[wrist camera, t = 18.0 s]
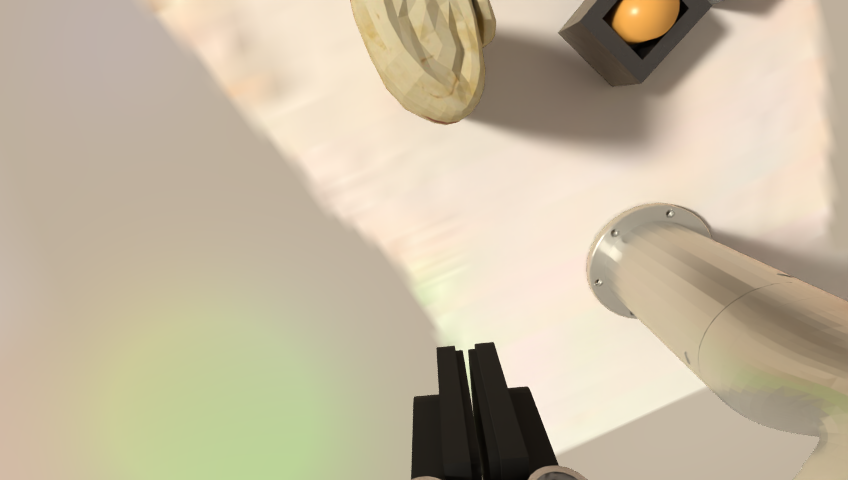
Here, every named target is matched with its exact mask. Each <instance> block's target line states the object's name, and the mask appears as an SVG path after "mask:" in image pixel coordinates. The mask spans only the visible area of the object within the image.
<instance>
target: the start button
mask: <svg viewBox="0 0 848 480" xmlns="http://www.w3.org/2000/svg"><path fill="white" fill-rule="evenodd" d="M679 6H680V2H679V0H617V1H616V3H615V4H614V5H613V6H612V7H611V9H610V10H609V11H608V12H607V13H606V15H605V16H604V17H603V18H602V19H603V20H604V21H605V22H606V23H607V24H608V25H609V26H610V27H611V28H612V29H613V30H614V31H615V32H616V33H617V34H618V35H619V36H620V37H621V38H622V39H623V41H624V42H625V43H626V44H627V45H628V46H630V45H634V44H637V43H640V42H644V41H647V40H651V39H654V38H657V37H659V36H661V35H663V34H665V33H666V32H667V31H668V30H669V29H670V28H671V27H672V25H673V24H674V22H675V21H676V19H677V16H678V13H679Z"/></svg>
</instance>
